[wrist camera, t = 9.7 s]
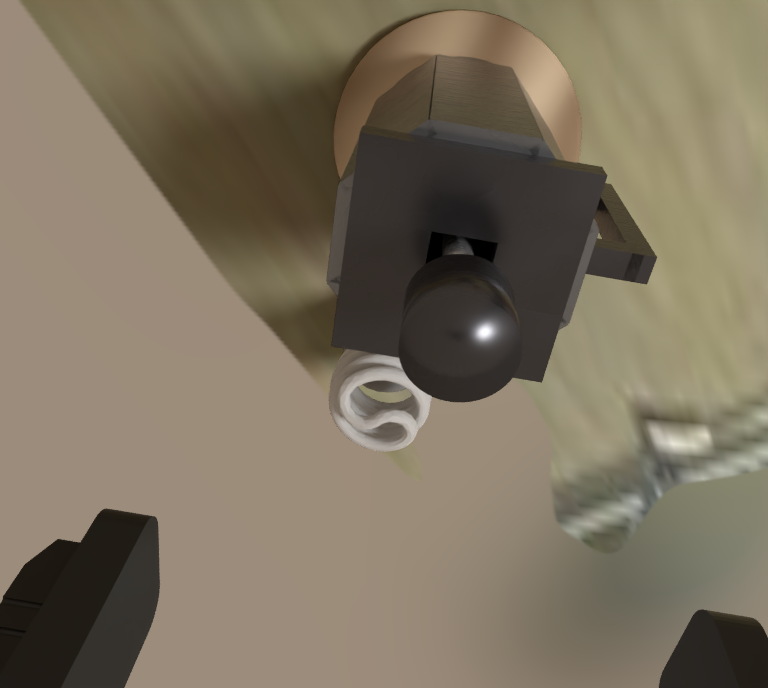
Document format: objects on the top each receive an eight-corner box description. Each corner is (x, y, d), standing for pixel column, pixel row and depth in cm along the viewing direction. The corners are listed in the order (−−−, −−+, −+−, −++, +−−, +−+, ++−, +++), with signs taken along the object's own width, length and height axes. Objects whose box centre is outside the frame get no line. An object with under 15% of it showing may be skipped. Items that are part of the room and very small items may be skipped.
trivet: (612, 34, 38) (615, 36, 37) (543, 272, 45) (544, 277, 44) (351, -12, 38) (349, -11, 37) (323, 234, 45) (321, 239, 44)
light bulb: (336, 331, 48) (305, 441, 38) (371, 263, 46) (347, 361, 35) (411, 365, 49) (401, 481, 39) (450, 300, 46) (449, 406, 36)
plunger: (535, 107, 36) (610, 265, 19) (503, 231, 40) (544, 460, 23) (403, 83, 36) (360, 221, 19) (383, 210, 40) (331, 424, 23)
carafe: (619, 83, 38) (723, 176, 24) (568, 247, 43) (629, 410, 29) (385, 42, 38) (344, 111, 24) (361, 211, 43) (314, 356, 28)
